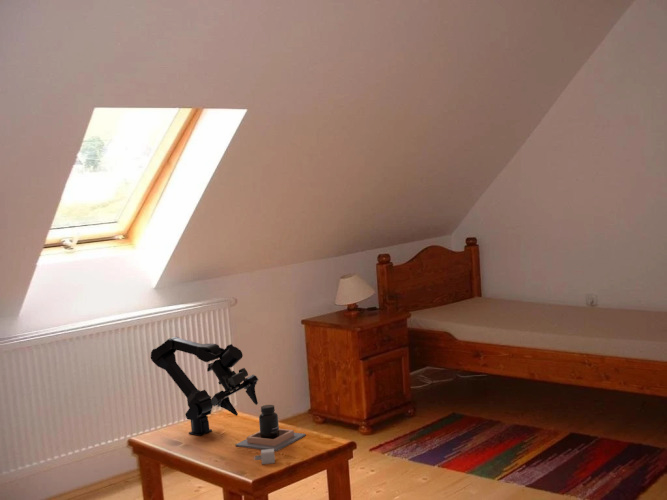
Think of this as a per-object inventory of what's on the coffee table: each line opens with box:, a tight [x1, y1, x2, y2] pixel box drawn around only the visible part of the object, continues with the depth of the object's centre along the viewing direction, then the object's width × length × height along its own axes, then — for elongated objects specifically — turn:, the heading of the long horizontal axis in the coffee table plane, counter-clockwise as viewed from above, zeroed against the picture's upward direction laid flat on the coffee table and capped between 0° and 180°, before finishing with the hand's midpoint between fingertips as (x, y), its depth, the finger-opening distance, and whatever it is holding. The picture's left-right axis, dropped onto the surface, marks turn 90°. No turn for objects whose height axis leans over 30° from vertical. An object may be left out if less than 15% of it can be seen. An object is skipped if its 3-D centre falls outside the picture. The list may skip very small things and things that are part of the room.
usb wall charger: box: [252, 449, 276, 466], centre depth 262 cm, size 4×7×4 cm, turn 95°
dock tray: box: [235, 428, 306, 452], centre depth 285 cm, size 18×18×3 cm
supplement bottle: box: [258, 404, 280, 439], centre depth 285 cm, size 7×7×12 cm
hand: (247, 409), depth 289 cm, fingers open, 9 cm apart
